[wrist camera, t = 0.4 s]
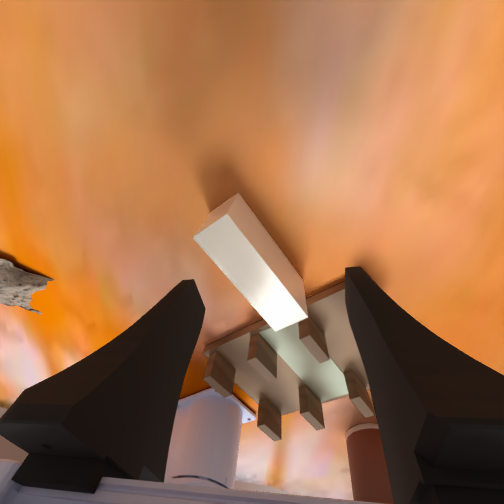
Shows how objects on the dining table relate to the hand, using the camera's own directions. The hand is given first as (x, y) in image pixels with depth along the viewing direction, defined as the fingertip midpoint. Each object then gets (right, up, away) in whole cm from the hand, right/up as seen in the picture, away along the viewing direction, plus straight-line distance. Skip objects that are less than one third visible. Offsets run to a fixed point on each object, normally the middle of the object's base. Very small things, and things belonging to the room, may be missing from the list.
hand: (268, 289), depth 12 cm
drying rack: (+6, -10, +16) cm, 19 cm away
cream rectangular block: (0, +2, +10) cm, 11 cm away
